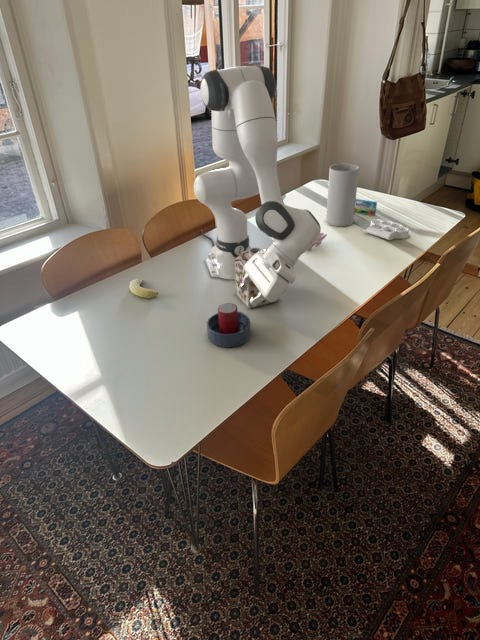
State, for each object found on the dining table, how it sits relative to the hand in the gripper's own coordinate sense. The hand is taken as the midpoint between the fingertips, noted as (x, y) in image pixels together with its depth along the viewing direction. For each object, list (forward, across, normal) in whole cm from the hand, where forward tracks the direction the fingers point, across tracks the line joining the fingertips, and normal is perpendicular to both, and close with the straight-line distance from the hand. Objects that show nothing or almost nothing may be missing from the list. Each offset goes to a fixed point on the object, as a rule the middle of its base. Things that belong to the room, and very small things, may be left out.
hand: (246, 296), depth 136 cm
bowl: (+13, 0, +5) cm, 14 cm away
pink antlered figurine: (-24, -49, +42) cm, 69 cm away
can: (+13, 0, +4) cm, 13 cm away
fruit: (+28, -37, -10) cm, 48 cm away
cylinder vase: (-39, -69, +58) cm, 98 cm away
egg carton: (-48, -49, +66) cm, 95 cm away
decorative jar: (+2, -18, +16) cm, 24 cm away
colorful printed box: (-50, -74, +69) cm, 113 cm away
